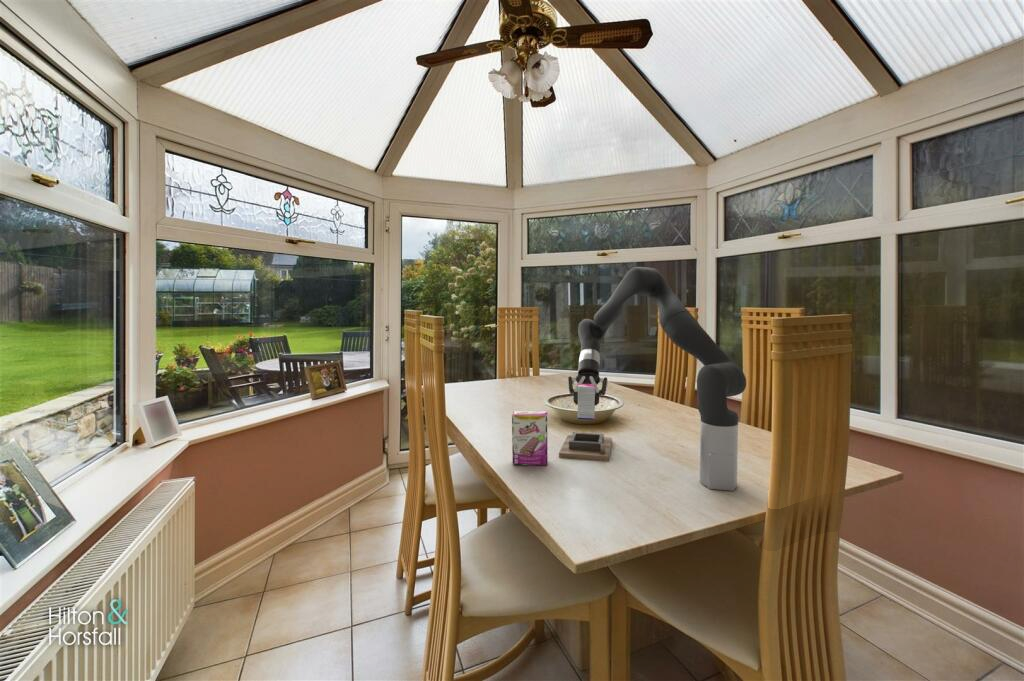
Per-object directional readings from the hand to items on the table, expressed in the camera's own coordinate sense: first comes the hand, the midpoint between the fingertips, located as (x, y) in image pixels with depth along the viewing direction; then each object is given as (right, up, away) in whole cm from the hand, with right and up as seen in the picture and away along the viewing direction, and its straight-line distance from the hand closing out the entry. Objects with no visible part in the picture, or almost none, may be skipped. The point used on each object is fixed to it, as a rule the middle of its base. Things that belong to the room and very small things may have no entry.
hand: (586, 403), depth 146 cm
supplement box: (+1, -5, +2) cm, 6 cm away
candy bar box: (-19, -18, -9) cm, 28 cm away
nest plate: (+1, -16, +3) cm, 16 cm away
